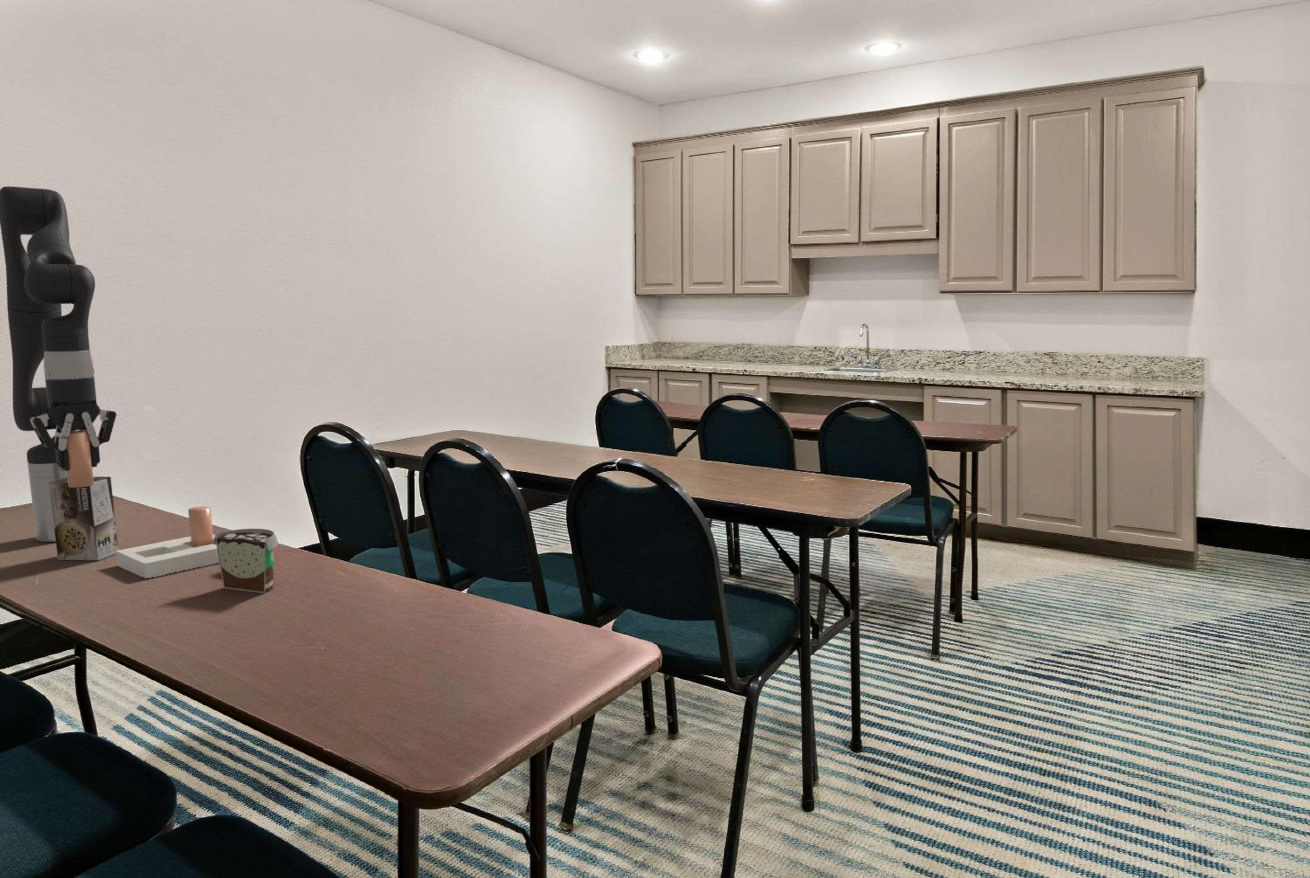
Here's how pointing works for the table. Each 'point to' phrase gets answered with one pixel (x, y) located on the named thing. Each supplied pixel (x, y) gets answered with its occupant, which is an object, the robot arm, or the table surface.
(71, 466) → the pin
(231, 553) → the food container
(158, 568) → the pin board
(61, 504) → the coffee box
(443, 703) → the table surface
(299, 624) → the table surface
